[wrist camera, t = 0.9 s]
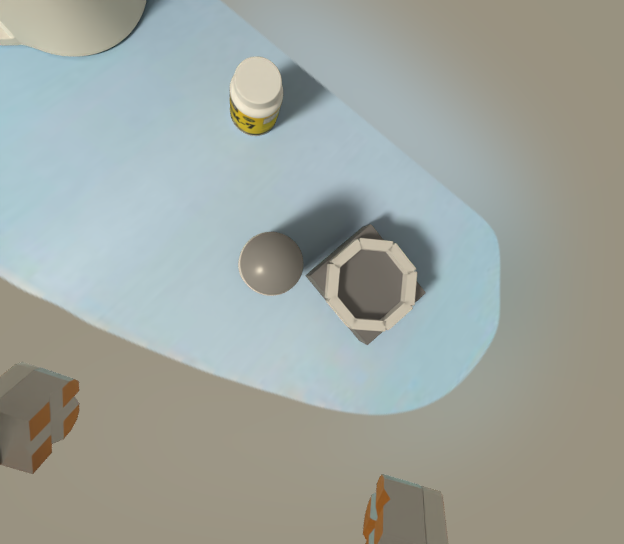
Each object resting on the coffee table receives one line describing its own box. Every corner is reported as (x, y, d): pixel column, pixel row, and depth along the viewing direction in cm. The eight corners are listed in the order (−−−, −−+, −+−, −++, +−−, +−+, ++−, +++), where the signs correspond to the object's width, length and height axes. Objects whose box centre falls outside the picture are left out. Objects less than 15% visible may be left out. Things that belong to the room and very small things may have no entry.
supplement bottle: (220, 110, 45) (216, 74, 37) (254, 80, 46) (259, 38, 38) (253, 147, 46) (257, 119, 38) (286, 117, 46) (298, 83, 38)
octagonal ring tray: (302, 277, 47) (308, 278, 42) (365, 224, 48) (377, 220, 44) (356, 343, 48) (368, 349, 43) (416, 289, 49) (433, 290, 45)
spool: (227, 261, 45) (225, 259, 37) (268, 227, 46) (276, 217, 37) (261, 302, 46) (268, 309, 37) (301, 268, 47) (317, 267, 38)
